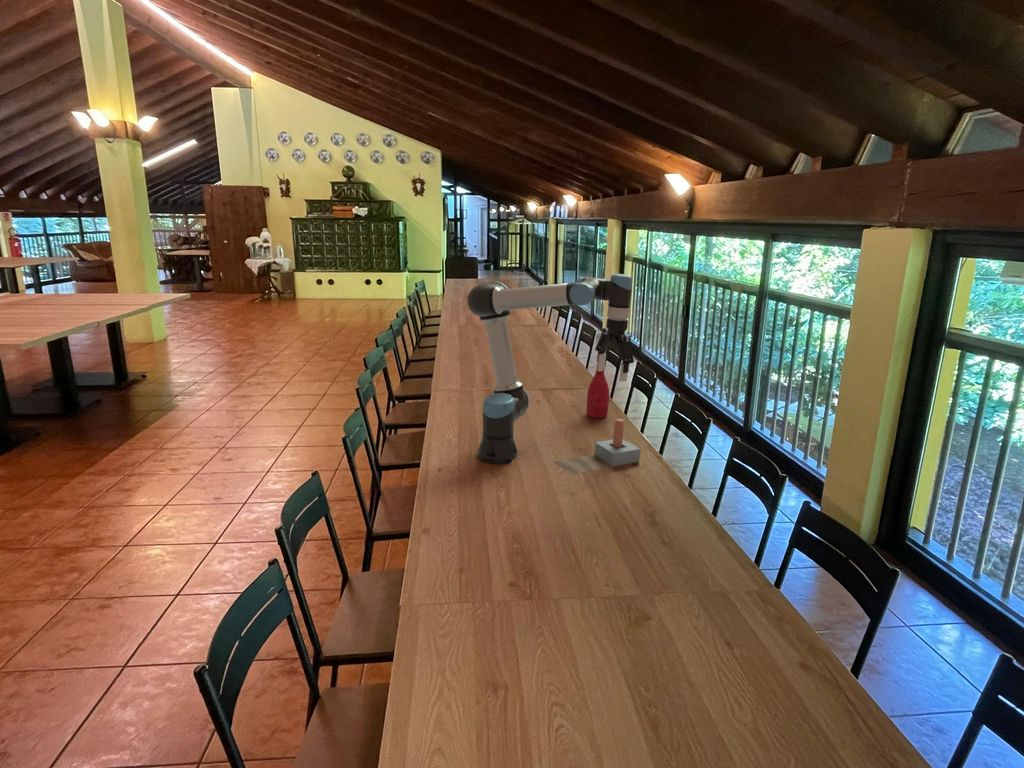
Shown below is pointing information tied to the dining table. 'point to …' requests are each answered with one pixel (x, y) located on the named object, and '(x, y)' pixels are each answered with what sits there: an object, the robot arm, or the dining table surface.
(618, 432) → the peg
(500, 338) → the robot arm
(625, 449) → the socket
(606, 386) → the wine bottle
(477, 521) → the dining table surface
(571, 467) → the board
